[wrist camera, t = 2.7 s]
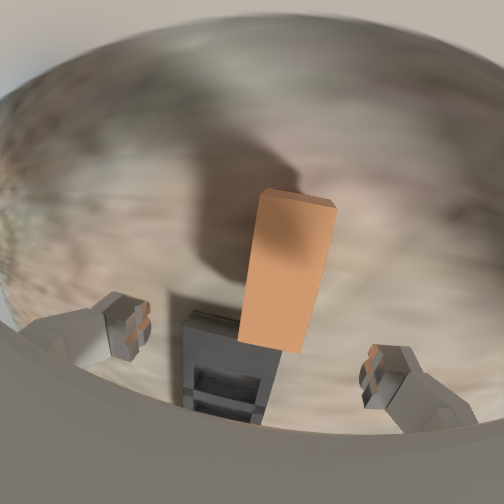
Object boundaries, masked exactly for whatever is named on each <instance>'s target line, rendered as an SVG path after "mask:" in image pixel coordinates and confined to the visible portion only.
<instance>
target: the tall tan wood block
mask: <svg viewBox="0 0 504 504" xmlns="http://www.w3.org/2000/svg"><path fill="white" fill-rule="evenodd" d="M336 214H337V208H336V206H335V205H334V204H333V202H332V201H331V200H329V199H324V198H319V197H314V196H309V195H304V194H299V193H294V192H288V191H283V190H277V189H271V188H267V189H265V190H264V191H263V192H262V193H260V196H259V203H258V209H257V216H256V222H255V229H254V235H253V242H252V248H251V255H250V261H249V268H248V274H247V281H246V288H245V294H244V301H243V307H242V314H241V320H240V327H239V334H238V340H237V341H239V342H244V343H248V344H253V345H258V346H262V347H267V348H272V349H278V350H283V351H288V352H294V353H299V354H300V351H301V348H302V345H303V341H304V338H305V335H306V332H307V328H308V325H309V321H310V318H311V314H312V311H313V307H314V304H315V300H316V297H317V293H318V289H319V285H320V281H321V278H322V274H323V270H324V266H325V262H326V258H327V254H328V249H329V245H330V241H331V236H332V232H333V227H334V223H335V218H336Z"/></svg>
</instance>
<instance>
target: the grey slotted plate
mask: <svg viewBox="0 0 504 504" xmlns="http://www.w3.org/2000/svg"><path fill="white" fill-rule="evenodd" d="M239 327H240V321H236V320H231V319H227V318H223V317H218V316H214V315H210V314H206V313H202V312H198V311H194V310H193V312H192V313H191V315H190V316H189V318H188V319H187V320H186V322H185V323H184V325H183V408H186V409H190V410H194V411H197V412H201V413H205V414H209V415H213V416H217V417H221V418H226V419H230V420H235V421H240V422H245V423H250V424H256V425H261V422H262V419H263V416H264V412H265V409H266V406H267V402H268V399H269V396H270V392H271V389H272V386H273V382H274V379H275V375H276V372H277V368H278V365H279V361H280V357H281V354H282V350H278V349H272V348H267V347H262V346H258V345H253V344H248V343H244V342H239V341H237V340H238V334H239Z"/></svg>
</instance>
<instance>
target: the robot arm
mask: <svg viewBox="0 0 504 504" xmlns="http://www.w3.org/2000/svg"><path fill="white" fill-rule="evenodd" d="M149 313H150V304H149V302H148V301H145V300H142V299H139V298H135V297H132V296H129V295H125V294H123V293H119V292H115V291H112V292H111V293H110V294H108V295H107V296H106V297H105V298H103V299H102V300H101V301H100V302H98V303H97V304H96V305H95V306H93V307H92V308H91V309H88V308H85V309H81V310H76V311H72V312H67V313H63V314H58V315H54V316H49V317H45V318H40V319H35V320H34V321H33V322H31V323H30V324H29V325H27V326H26V327H25V328H24V329H22V330H21V331H20V332H18V333H17V332H16V331H14V330H13V329H11V328H10V327H8V326H7V325H6V324H4V323H2V322H1V321H0V504H504V418H501V419H497V420H493V421H489V422H485V423H480V424H479V423H478V421H477V419H476V417H475V415H474V413H473V411H472V409H471V407H470V405H469V404H468V403H467V402H465V401H464V400H463V399H461V398H460V397H459V396H457V395H456V394H455V393H453V392H452V391H451V390H449V389H448V388H446V387H445V386H444V385H442V384H441V383H440V382H438V381H437V380H436V379H434V378H433V377H431V376H430V375H429V374H427V373H423V371H422V369H421V367H420V365H419V362H418V360H417V358H416V356H415V355H414V353H413V351H412V349H411V348H410V347H409V346H391V345H378V344H373V345H372V346H371V347H370V349H369V352H368V355H369V359H368V360H366V361H365V362H364V363H363V365H362V367H361V370H360V375H359V383H360V387H361V388H362V389H363V390H364V392H363V394H362V398H363V403H364V408H365V409H384V410H385V411H386V412H387V413H388V414H389V416H390V417H391V418H392V419H393V420H394V421H395V423H396V424H397V425H398V426H399V427H400V429H401V430H402V431H403V432H404V433H405V434H384V435H352V434H330V433H317V432H306V431H297V430H289V429H281V428H274V427H268V426H262V425H256V424H250V423H245V422H240V421H235V420H230V419H226V418H221V417H217V416H213V415H209V414H205V413H201V412H197V411H194V410H190V409H186V408H183V407H180V406H176V405H173V404H170V403H167V402H164V401H160V400H157V399H155V398H152V397H149V396H146V395H143V394H140V393H138V392H135V391H132V390H130V389H127V388H125V387H122V386H120V385H117V384H115V383H112V382H110V381H108V380H105V379H103V378H101V377H99V376H96V375H94V374H92V373H90V372H88V371H86V370H83V369H86V368H88V367H90V366H92V365H94V364H96V363H99V362H101V361H103V360H105V359H107V358H109V357H111V356H114V357H117V358H119V359H122V360H125V361H128V362H132V360H133V359H134V358H135V356H136V355H137V354H138V352H139V347H140V346H143V345H145V343H146V342H147V341H148V338H149V336H150V332H151V321H150V320H149V318H148V317H147V315H148V314H149Z"/></svg>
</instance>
